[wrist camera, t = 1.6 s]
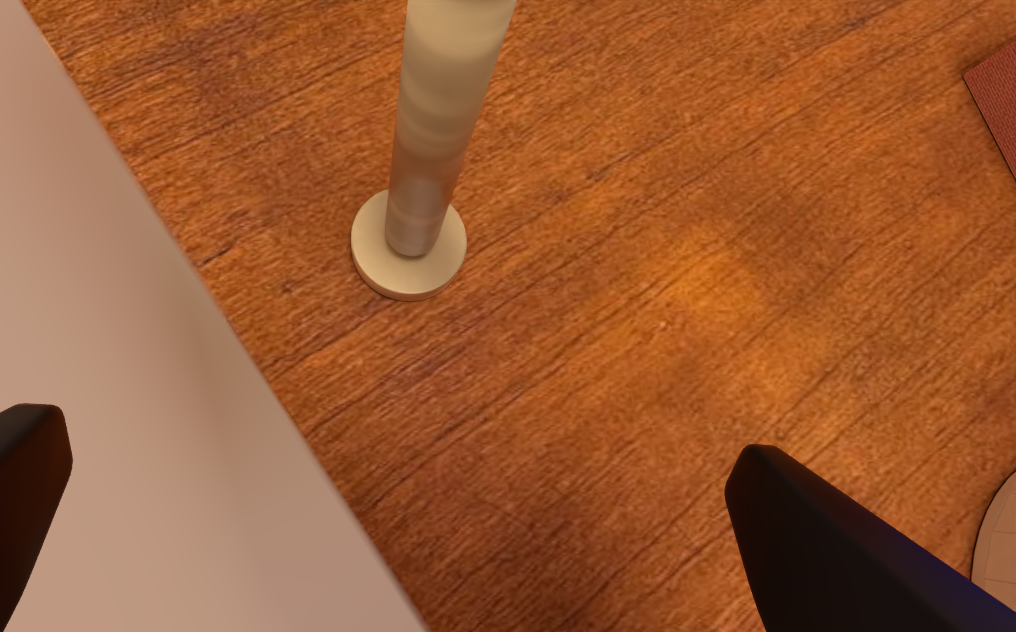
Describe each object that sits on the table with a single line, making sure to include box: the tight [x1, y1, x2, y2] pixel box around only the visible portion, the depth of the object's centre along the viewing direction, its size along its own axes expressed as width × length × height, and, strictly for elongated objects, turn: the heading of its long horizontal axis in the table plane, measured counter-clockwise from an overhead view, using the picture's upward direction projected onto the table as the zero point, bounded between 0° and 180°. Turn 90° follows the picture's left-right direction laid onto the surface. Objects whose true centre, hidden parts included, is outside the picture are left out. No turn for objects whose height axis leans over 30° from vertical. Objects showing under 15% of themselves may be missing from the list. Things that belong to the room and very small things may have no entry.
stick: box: [351, 0, 517, 301], centre depth 15 cm, size 4×4×16 cm
